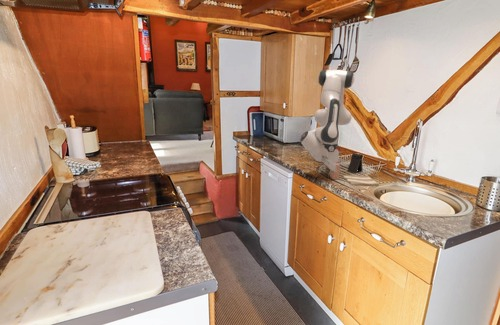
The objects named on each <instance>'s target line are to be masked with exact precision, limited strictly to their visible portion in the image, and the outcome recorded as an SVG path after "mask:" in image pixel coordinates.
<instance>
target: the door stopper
mask: <svg viewBox="0 0 500 325" xmlns="http://www.w3.org/2000/svg"><path fill="white" fill-rule="evenodd" d="M357 170H358V171H357ZM347 172H350V173H353V174H358V173H361V172H363V154H359V153H355V152H354V153H353V152H352V154H351V159H350V162H349V165H348V167H347Z"/></svg>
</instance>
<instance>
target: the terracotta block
mask: <svg viewBox="0 0 500 325" xmlns="http://www.w3.org/2000/svg"><path fill="white" fill-rule="evenodd" d="M334 165H335V166H336V170H337V172H336V173H335V172H334V171H331V170H330V173H329V174H330V176H329V177H330V178H331V179H332V180H339V179H340V178H339V177H340V169H341V164H340V162H337V163H334Z"/></svg>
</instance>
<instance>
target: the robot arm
mask: <svg viewBox="0 0 500 325" xmlns="http://www.w3.org/2000/svg"><path fill="white" fill-rule="evenodd" d="M317 80H318V84H319V85H320V86H321V87H322V88H321V93H320V100H319V101H320V104H321V105H322V106H324V108H319V109H317V110H316V111H315V113H314V120H315V122H316V123H317V124H318V125H319V126H318V127H316V128H314V129H311V130H306V131H305V132H303V133H302V135H301V137H300V139H299V140H300V143H301V145H302V146H303V147H304V148H305V150H306V151H307V152H308V153H310V155H311V156H312V158H313V159H314V161H315V162H318V163H319V162H320V163H323V164H324V165H325V166H326V167H327V169H329V170H330V172H331V171H334V172H335V173H336V172H337V170H336V166H335V165H334V163H340V162H341V160H340V159H339V155H340V152H339V150H338V146H339V143H338V141H339V126H343V125H344V126H345V125H346V126H347V125H348V124H350V122H351V121H352V114H351V112H350V111H349V110H348V109H347V108H346V106H345V103H344V97H345V89H349V88H351V87H352V85H353V84H354V82H355V73H354V72H353V71H351V70H350V71H349V70H344V69H327V68H325V69H322V70H320V71H319V74H318V78H317Z"/></svg>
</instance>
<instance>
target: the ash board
mask: <svg viewBox="0 0 500 325" xmlns="http://www.w3.org/2000/svg"><path fill="white" fill-rule="evenodd" d="M342 179H344V180H345V182H347V183H348V184H349V185H350V186H363V187H364V186H365V187H367V186H368V187H379V183H378V182H377V181H375V180H374V179H372V178H371V177H370V176H368V175H348V174H342Z"/></svg>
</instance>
